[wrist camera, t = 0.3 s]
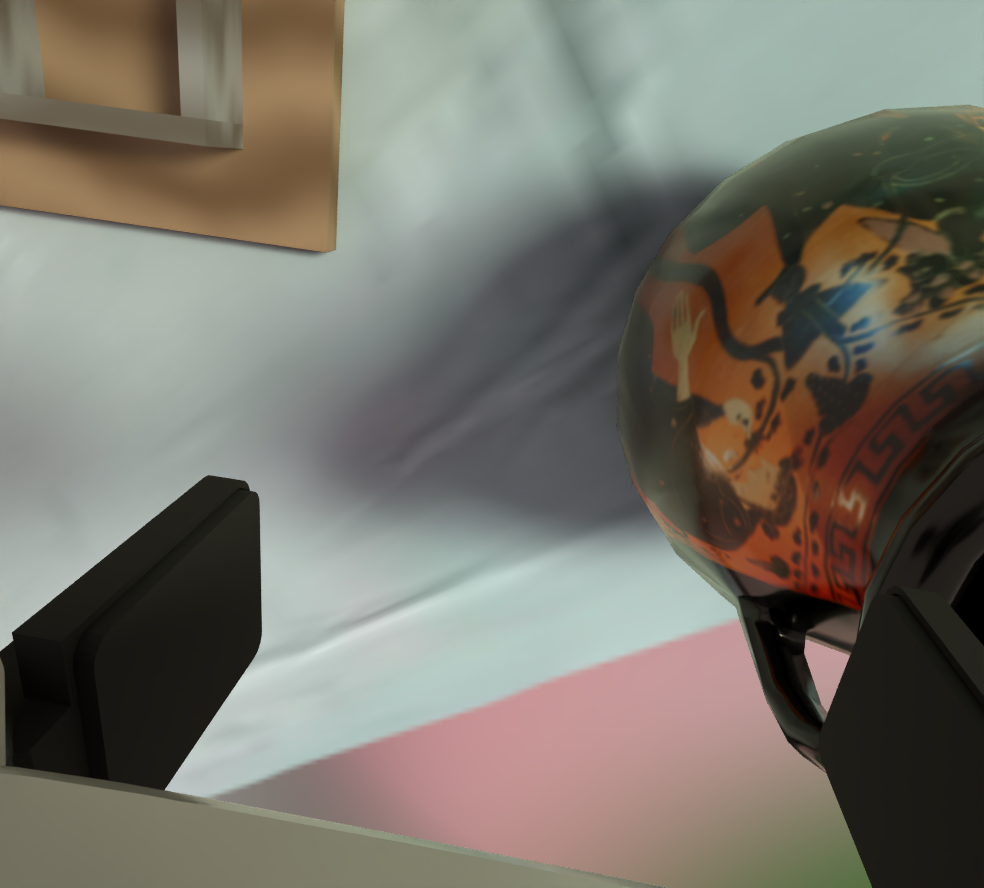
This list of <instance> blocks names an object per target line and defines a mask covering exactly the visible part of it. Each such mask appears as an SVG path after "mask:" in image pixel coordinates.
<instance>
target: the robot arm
mask: <svg viewBox="0 0 984 888" xmlns="http://www.w3.org/2000/svg"><path fill="white" fill-rule="evenodd" d="M12 636H13V641H12V642H11V643H10V644H9V645H8V646H6V647H5V648H4V649H3V650H1V651H0V888H667V887H662V886H657V885H652V884H647V883H642V882H637V881H632V880H627V879H622V878H617V877H612V876H607V875H602V874H596V873H591V872H586V871H581V870H576V869H571V868H566V867H561V866H556V865H551V864H546V863H541V862H536V861H530V860H526V859H520V858H515V857H510V856H505V855H500V854H495V853H490V852H485V851H479V850H475V849H470V848H464V847H459V846H454V845H448V844H443V843H439V842H433V841H429V840H424V839H418V838H413V837H407V836H402V835H398V834H392V833H386V832H382V831H376V830H371V829H366V828H360V827H355V826H350V825H345V824H339V823H335V822H329V821H324V820H319V819H314V818H308V817H303V816H298V815H293V814H288V813H282V812H277V811H272V810H266V809H261V808H256V807H251V806H245V805H240V804H235V803H230V802H225V801H219V800H214V799H209V798H203V797H198V796H192V795H187V794H181V793H176V792H170V791H165V788H166V787H167V785H168V784H169V783H170V781H171V780H172V778H173V777H174V775H175V774H176V772H177V771H178V769H179V768H180V766H181V765H182V763H183V762H184V760H185V759H186V757H187V756H188V754H189V753H190V752H191V750H192V749H193V747H194V746H195V744H196V743H197V741H198V740H199V738H200V737H201V735H202V734H203V732H204V731H205V729H206V728H207V726H208V725H209V724H210V722H211V721H212V719H213V718H214V716H215V715H216V713H217V712H218V710H219V709H220V707H221V706H222V704H223V703H224V701H225V700H226V698H227V697H228V696H229V694H230V693H231V691H232V690H233V688H234V687H235V685H236V684H237V682H238V681H239V679H240V678H241V676H242V675H243V673H244V672H245V670H246V669H247V667H248V666H249V665H250V663H251V662H252V660H253V659H254V657H255V655H256V653H257V651H258V649H259V645H260V642H261V636H262V614H261V560H260V505H259V497H258V494H257V493H256V492H253V491H250V489H249V486H248V484H247V483H246V482H245V481H242V480H236V479H229V478H223V477H217V476H210V475H208V476H206V477H204V478H203V479H202V480H200V481H199V482H198V483H197V484H195V485H194V486H193V487H192V488H190V489H189V490H188V491H187V492H186V493H184V494H183V495H182V496H181V497H179V498H178V499H177V500H176V501H174V502H173V503H172V504H171V505H169V506H168V507H167V508H166V509H164V510H163V511H162V512H161V513H160V514H158V515H157V516H156V517H155V518H153V519H152V520H151V521H150V522H148V523H147V524H146V525H145V526H143V527H142V528H141V529H140V530H138V531H137V532H136V533H135V534H134V535H132V536H131V537H130V538H129V539H127V540H126V541H125V542H124V543H122V544H121V545H120V546H119V547H117V548H116V549H115V550H114V551H112V552H111V553H110V554H109V555H108V556H106V557H105V558H104V559H103V560H101V561H100V562H99V563H98V564H96V565H95V566H94V567H93V568H91V569H90V570H89V571H88V572H86V573H85V574H84V575H83V576H82V577H80V578H79V579H78V580H77V581H75V582H74V583H73V584H72V585H70V586H69V587H68V588H67V589H65V590H64V591H63V592H62V593H60V594H59V595H58V596H57V597H55V598H54V599H53V600H52V601H51V602H49V603H48V604H47V605H46V606H44V607H43V608H42V609H41V610H39V611H38V612H37V613H36V614H34V615H33V616H32V617H31V618H29V619H28V620H27V621H26V622H25V623H23V624H22V625H21V626H20V627H18V628H17V629H16V630H15V631H13V632H12ZM819 753H820V757H821V761H822V763H823V766H824V768H825V771H826V773H827V776H828V778H829V780H830V783H831V786H832V788H833V791H834V793H835V795H836V798H837V800H838V803H839V805H840V808H841V810H842V813H843V815H844V818H845V820H846V823H847V825H848V828H849V830H850V833H851V835H852V838H853V840H854V843H855V845H856V848H857V850H858V853H859V855H860V858H861V860H862V863H863V865H864V868H865V870H866V873H867V875H868V878H869V880H870V883H871V885H872V888H984V646H983V645H982V643H981V642H980V641H979V640H978V639H977V638H976V636H975V635H974V634H973V633H972V632H971V630H970V629H969V628H968V627H967V626H966V624H965V623H964V622H963V621H962V620H961V618H960V617H959V616H958V615H957V614H956V612H955V611H954V610H953V609H952V608H951V607H950V605H949V604H948V603H947V602H946V601H945V599H944V598H943V597H942V596H941V595H939V594H938V593H935V592H929V591H923V590H917V589H911V588H905V587H898V586H893V587H891V588H889V589H888V590H887V591H886V592H885V594H880V593H879V594H877V595H875V596H874V598H873V599H872V601H871V603H870V606H869V608H868V611H867V613H866V616H865V618H864V621H863V624H862V626H861V629H860V631H859V634H858V636H857V639H856V642H855V644H854V647H853V649H852V652H851V654H850V657H849V660H848V662H847V665H846V668H845V670H844V673H843V675H842V678H841V680H840V683H839V685H838V688H837V691H836V693H835V696H834V698H833V701H832V704H831V706H830V709H829V711H828V714H827V716H826V719H825V721H824V724H823V727H822V729H821V732H820V736H819Z"/></svg>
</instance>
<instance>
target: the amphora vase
mask: <svg viewBox="0 0 984 888" xmlns="http://www.w3.org/2000/svg"><path fill="white" fill-rule="evenodd" d="M617 429H618V433H619V436H620V440H621V444H622V447H623V451H624V455H625V458H626V462H627V465H628V469H629V473H630V476H631V480H632V483H633V484H634V486H635V488H636V489H637V491H638V493H639V494H640V496H641V497H642V499H643V501H644V502H645V504H646V506H647V507H648V509H649V511H650V512H651V514H652V515H653V517H654V519H655V520H656V522H657V524H658V525H659V527H660V528H661V530H662V532H663V533H664V535H665V537H666V538H667V540H668V541H669V543H670V545H671V546H672V548H673V549H674V551H675V553H676V554H677V555H678V556H679V557H680V558H681V559H682V560H684V561H685V562H686V563H687V564H688V565H689V566H690V567H691V568H692V569H693V570H694V571H695V572H697V573H698V574H699V575H700V576H701V577H702V578H703V579H704V580H705V581H706V582H707V583H708V584H710V585H711V586H712V587H713V588H714V589H715V590H716V591H717V592H718V593H719V594H721V595H722V596H723V597H724V598H725V599H726V600H728V601H729V602H730V603H731V604H732V605H734V606H735V607H736V609H737V613H738V616H739V619H740V622H741V625H742V628H743V631H744V634H745V638H746V641H747V643H748V646H749V649H750V653H751V655H752V659H753V661H754V665H755V668H756V671H757V674H758V677H759V680H760V683H761V686H762V689H763V692H764V695H765V698H766V701H767V703H768V705H769V707H770V709H771V711H772V713H773V714H774V716H775V718H776V720H777V722H778V724H779V725H780V728H781V730H782V732H783V733H784V735H785V737H786V739H787V741H788V742H789V743H790V744H791V745H792V746H793V747H794V748H795V749H796V750H797V751H798V752H799V753H800V754H801V755H802V756H803V757H804V758H806V759H807V760H809V761H810V762H812V763H813V764H814V765H816V766H817V767H818V768H820V769H821V770H822V771H824V772H825V773H826V771H825V768H824V766H823V763H822V761H821V757H820V753H819V736H820V732H821V729H822V727H823V724H824V721H825V719H826V716H827V714H828V713H827V712H826V710H825V709H824V708H823V706H822V705H821V702H820V699H819V696H818V693H817V690H816V687H815V684H814V681H813V679H812V675H811V672H810V669H809V667H808V663H807V661H806V658H805V655H804V648H805V639H806V640H810V641H812V642H815V643H818V644H820V645H823V646H826V647H828V648H831V649H834V650H836V651H839V652H842V653H845V654H848V655H850V654H851V652H852V649H853V647H854V644H855V642H856V639H857V636H858V634H859V631H860V629H861V626H862V624H863V621H864V618H865V616H866V613H867V611H868V608H869V606H870V603H871V601H872V599H873V598H874V596H875V595H877V594H879V593H880V594H885V592H886V591H887V590H888V589H889V588H891V587H893V586H898V587H905V588H911V589H917V590H923V591H929V592H935V593H938V594H939V595H941V596H942V597H943V598H944V599H945V601H946V602H947V603H948V604H949V605H950V607H951V608H952V609H953V610H954V611H955V612H956V614H957V615H958V616H959V617H960V618H961V620H962V621H963V622H964V623H965V624H966V626H967V627H968V628H969V629H970V630H971V632H972V633H973V634H974V635H975V636H976V638H977V639H978V640H979V641H980V642H981V643H982V645H983V646H984V108H982V107H977V106H972V105H957V106H940V107H922V108H904V109H886V110H882V111H879V112H875V113H872V114H869V115H866V116H863V117H860V118H857V119H854V120H851V121H848V122H845V123H842V124H839V125H836V126H833V127H830V128H827V129H824V130H821V131H817V132H814V133H811V134H808V135H805V136H802V137H799V138H796V139H793V140H790V141H787V142H785V143H783V144H781V145H780V146H778V147H777V148H775V149H773V150H772V151H770V152H769V153H767V154H765V155H764V156H762V157H760V158H759V159H757V160H756V161H754V162H752V163H751V164H749V165H748V166H746V167H744V168H743V169H741V170H739V171H738V172H736V173H735V174H733V175H731V176H730V177H728V178H727V179H725V180H723V181H722V182H720V183H719V184H718V185H717V186H716V187H715V188H714V189H713V190H712V191H711V192H710V193H709V194H708V195H707V196H706V197H705V198H704V199H703V201H702V202H701V203H700V204H699V205H698V206H697V207H696V208H695V209H694V210H693V211H692V212H691V213H690V214H689V215H688V216H687V217H686V218H685V219H684V220H683V221H682V222H681V223H680V224H679V225H678V226H677V227H676V228H675V229H674V230H673V231H672V232H671V233H670V234H669V236H668V237H667V239H666V241H665V242H664V244H663V246H662V247H661V249H660V251H659V252H658V254H657V256H656V258H655V259H654V261H653V263H652V264H651V266H650V268H649V269H648V271H647V273H646V274H645V276H644V278H643V279H642V281H641V283H640V284H639V286H638V288H637V289H636V291H635V295H634V298H633V302H632V305H631V308H630V312H629V315H628V318H627V322H626V325H625V329H624V332H623V335H622V339H621V342H620V346H619V349H618V374H617Z"/></svg>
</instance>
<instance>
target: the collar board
mask: <svg viewBox="0 0 984 888" xmlns="http://www.w3.org/2000/svg"><path fill="white" fill-rule="evenodd" d="M343 27H344V0H0V205H3V206H10V207H17V208H24V209H31V210H38V211H45V212H52V213H59V214H66V215H72V216H79V217H86V218H93V219H100V220H107V221H114V222H121V223H128V224H135V225H141V226H148V227H155V228H162V229H169V230H176V231H183V232H190V233H197V234H204V235H210V236H217V237H224V238H231V239H238V240H245V241H252V242H259V243H266V244H272V245H279V246H286V247H293V248H300V249H307V250H314V251H321V252H330V251H333V250H336V227H337V198H338V170H339V141H340V112H341V84H342V55H343Z"/></svg>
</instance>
